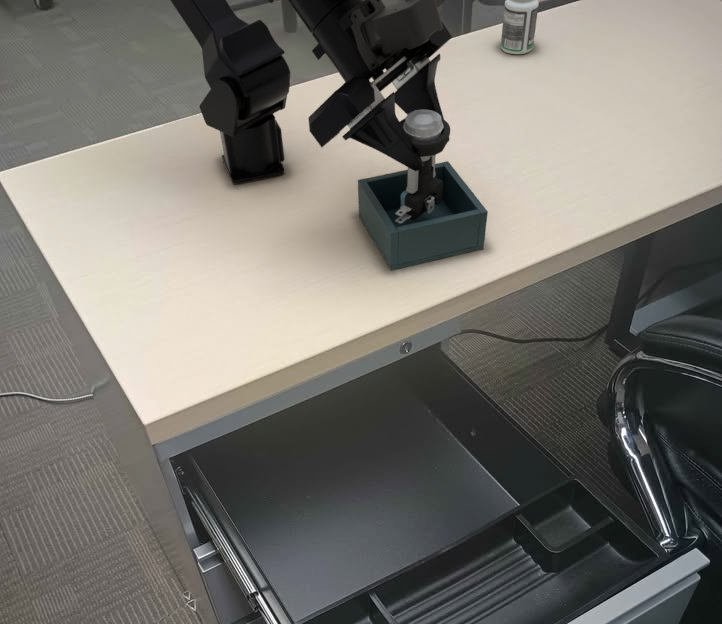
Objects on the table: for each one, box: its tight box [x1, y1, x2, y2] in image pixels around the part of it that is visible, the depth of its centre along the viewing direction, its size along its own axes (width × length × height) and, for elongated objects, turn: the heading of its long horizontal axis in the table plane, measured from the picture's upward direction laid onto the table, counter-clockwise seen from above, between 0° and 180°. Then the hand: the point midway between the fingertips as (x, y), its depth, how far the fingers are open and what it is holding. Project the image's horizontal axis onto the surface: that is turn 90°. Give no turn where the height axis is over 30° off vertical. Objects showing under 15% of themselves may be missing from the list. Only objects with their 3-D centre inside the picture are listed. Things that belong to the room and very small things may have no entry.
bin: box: [357, 160, 489, 271], centre depth 82 cm, size 11×11×4 cm
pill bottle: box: [500, 0, 540, 55], centre depth 109 cm, size 5×5×8 cm
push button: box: [395, 109, 451, 224], centre depth 78 cm, size 7×5×10 cm
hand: (433, 155), depth 76 cm, fingers closed on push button, 5 cm apart
